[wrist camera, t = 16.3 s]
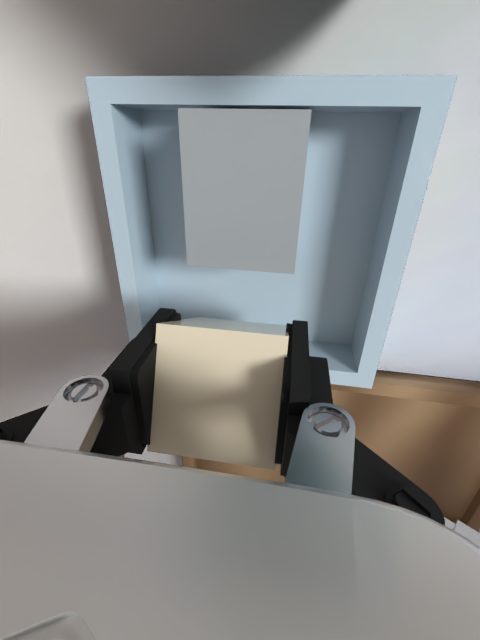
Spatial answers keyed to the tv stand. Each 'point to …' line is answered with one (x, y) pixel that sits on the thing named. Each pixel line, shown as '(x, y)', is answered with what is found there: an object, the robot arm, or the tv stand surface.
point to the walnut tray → (410, 437)
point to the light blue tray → (316, 211)
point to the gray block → (243, 186)
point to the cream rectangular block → (218, 390)
